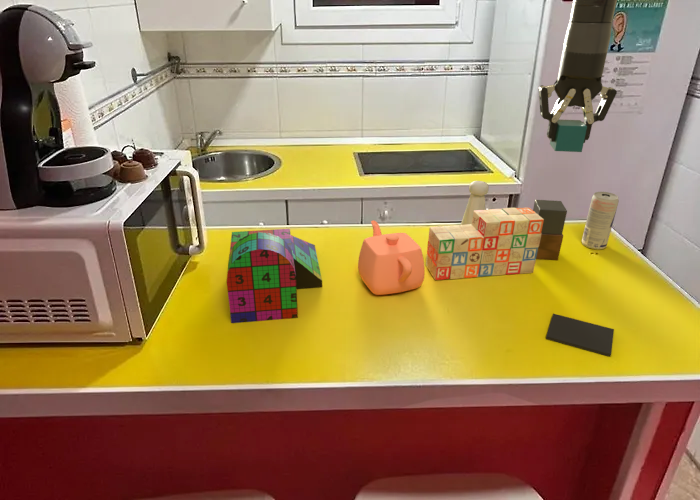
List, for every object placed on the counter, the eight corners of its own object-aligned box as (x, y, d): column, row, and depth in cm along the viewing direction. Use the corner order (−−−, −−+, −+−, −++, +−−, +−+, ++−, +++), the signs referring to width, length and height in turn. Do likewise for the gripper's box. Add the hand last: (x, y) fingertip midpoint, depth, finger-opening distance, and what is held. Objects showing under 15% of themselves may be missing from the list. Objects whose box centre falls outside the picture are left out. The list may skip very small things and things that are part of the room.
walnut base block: (552, 247, 117) (557, 223, 114) (558, 260, 112) (563, 235, 109) (524, 246, 118) (529, 222, 115) (529, 258, 113) (534, 233, 110)
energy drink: (606, 242, 120) (619, 193, 114) (606, 252, 116) (619, 202, 110) (581, 237, 122) (593, 189, 116) (580, 247, 117) (592, 197, 112)
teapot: (378, 310, 94) (380, 260, 90) (346, 264, 110) (346, 219, 105) (435, 299, 98) (440, 250, 93) (396, 256, 113) (398, 212, 108)
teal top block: (575, 145, 104) (580, 120, 102) (581, 152, 100) (587, 126, 98) (549, 144, 105) (554, 119, 103) (554, 151, 101) (559, 125, 98)
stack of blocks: (434, 281, 104) (440, 225, 98) (425, 266, 109) (430, 212, 103) (534, 272, 107) (544, 218, 101) (520, 258, 113) (529, 206, 107)
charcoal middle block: (556, 224, 114) (561, 200, 112) (562, 234, 109) (567, 210, 107) (530, 222, 115) (534, 199, 112) (535, 233, 110) (539, 209, 107)
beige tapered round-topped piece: (465, 240, 120) (472, 188, 114) (456, 230, 125) (462, 179, 119) (489, 238, 121) (497, 186, 115) (478, 228, 126) (485, 177, 120)
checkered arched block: (328, 315, 93) (327, 244, 86) (231, 323, 91) (223, 251, 84) (314, 250, 115) (313, 190, 108) (236, 255, 112) (230, 194, 106)
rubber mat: (613, 331, 89) (614, 329, 89) (610, 357, 83) (611, 354, 83) (552, 316, 93) (553, 313, 93) (545, 339, 87) (546, 336, 87)
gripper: (548, 50, 92) (532, 145, 99) (634, 52, 90) (611, 148, 98) (540, 46, 98) (526, 135, 106) (620, 47, 96) (599, 137, 104)
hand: (566, 140), depth 102 cm, fingers closed on teal top block, 5 cm apart
